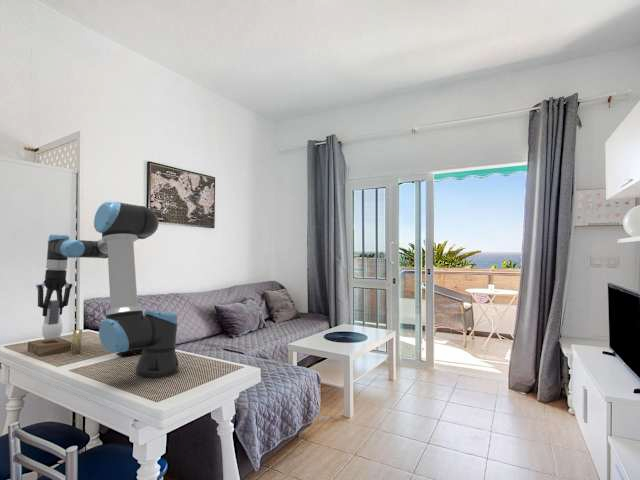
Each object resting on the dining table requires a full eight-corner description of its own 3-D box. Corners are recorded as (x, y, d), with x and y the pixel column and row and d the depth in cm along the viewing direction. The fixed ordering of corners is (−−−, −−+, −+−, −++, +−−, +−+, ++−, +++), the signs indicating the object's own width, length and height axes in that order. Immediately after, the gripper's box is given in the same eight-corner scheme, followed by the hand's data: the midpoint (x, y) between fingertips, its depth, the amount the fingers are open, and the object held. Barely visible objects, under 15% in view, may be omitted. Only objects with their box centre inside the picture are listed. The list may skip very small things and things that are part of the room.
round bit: (81, 353, 163) (83, 330, 163) (73, 355, 160) (75, 331, 160) (78, 352, 164) (80, 329, 165) (70, 353, 162) (72, 330, 162)
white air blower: (40, 341, 179) (43, 303, 180) (59, 339, 184) (62, 302, 185) (42, 344, 173) (45, 305, 174) (62, 342, 179) (65, 304, 179)
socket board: (70, 351, 165) (71, 342, 165) (38, 356, 155) (39, 346, 155) (58, 346, 172) (59, 337, 172) (27, 351, 162) (28, 341, 162)
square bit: (57, 323, 164) (59, 300, 165) (48, 324, 162) (51, 301, 162) (54, 322, 166) (56, 300, 167) (45, 323, 164) (47, 300, 164)
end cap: (121, 358, 160) (122, 342, 160) (114, 354, 164) (116, 339, 164) (145, 354, 167) (146, 339, 167) (138, 351, 172) (139, 336, 172)
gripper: (72, 268, 174) (68, 319, 173) (30, 268, 160) (25, 324, 160) (80, 270, 170) (75, 322, 169) (37, 269, 156) (32, 326, 155)
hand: (51, 323), depth 164 cm, fingers closed on square bit, 3 cm apart
